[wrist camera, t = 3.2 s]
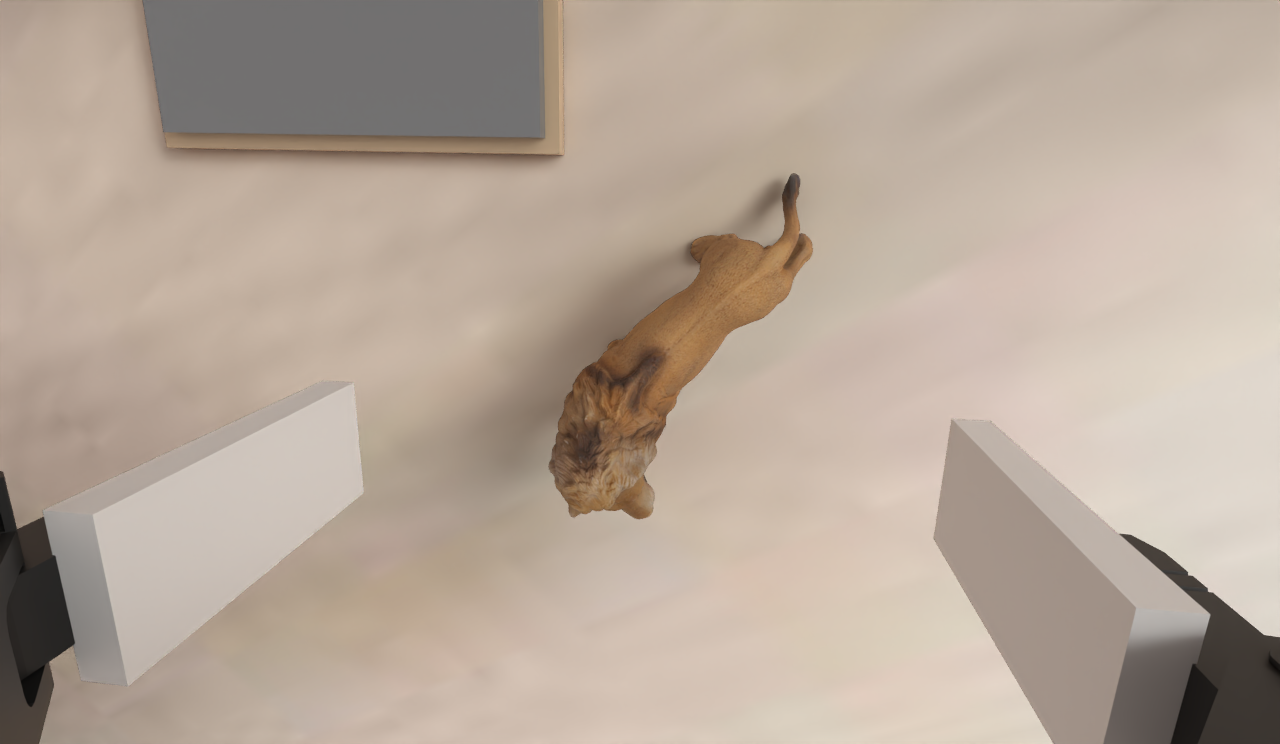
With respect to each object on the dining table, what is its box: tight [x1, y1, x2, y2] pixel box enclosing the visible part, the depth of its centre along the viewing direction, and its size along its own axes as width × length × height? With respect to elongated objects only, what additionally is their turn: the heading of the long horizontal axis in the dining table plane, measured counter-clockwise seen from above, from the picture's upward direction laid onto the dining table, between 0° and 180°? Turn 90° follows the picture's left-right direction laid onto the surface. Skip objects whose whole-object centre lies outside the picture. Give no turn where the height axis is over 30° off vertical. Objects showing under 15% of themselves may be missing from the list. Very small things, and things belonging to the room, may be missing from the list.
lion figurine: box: [548, 173, 813, 519], centre depth 21 cm, size 12×4×7 cm, turn 147°
